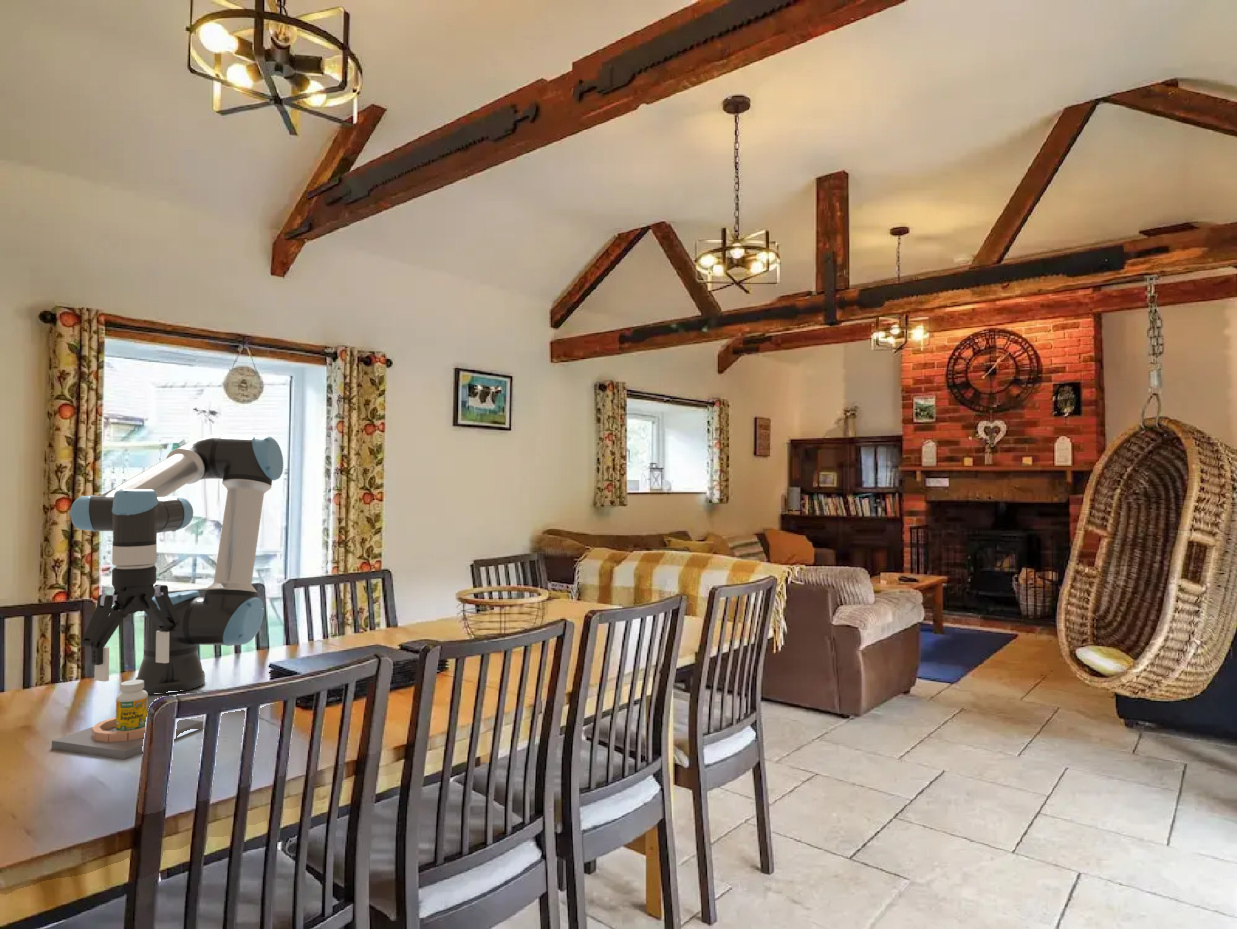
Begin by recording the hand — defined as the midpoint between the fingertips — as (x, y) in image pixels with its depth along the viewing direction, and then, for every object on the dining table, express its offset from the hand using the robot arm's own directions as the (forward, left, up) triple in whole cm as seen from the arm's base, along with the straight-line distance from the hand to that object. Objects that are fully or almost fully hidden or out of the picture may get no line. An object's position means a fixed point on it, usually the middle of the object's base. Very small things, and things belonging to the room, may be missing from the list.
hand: (133, 671), depth 150 cm
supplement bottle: (0, 0, -12) cm, 12 cm away
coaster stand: (0, 0, -13) cm, 13 cm away
